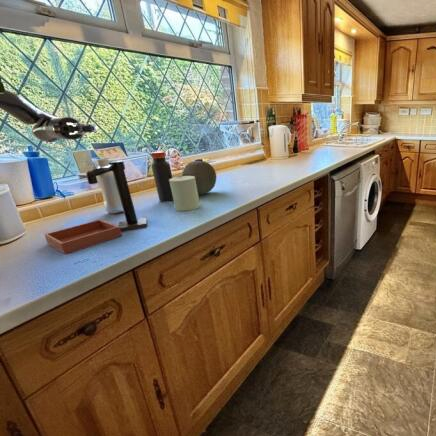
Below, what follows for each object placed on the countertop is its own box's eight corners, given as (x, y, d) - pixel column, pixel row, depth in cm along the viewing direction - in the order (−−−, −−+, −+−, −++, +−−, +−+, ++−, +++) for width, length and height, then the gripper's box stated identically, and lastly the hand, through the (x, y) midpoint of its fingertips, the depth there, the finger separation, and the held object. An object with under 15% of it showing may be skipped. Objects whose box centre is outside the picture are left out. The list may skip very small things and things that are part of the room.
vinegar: (157, 199, 130) (146, 152, 123) (174, 196, 134) (164, 150, 127) (161, 202, 125) (150, 153, 118) (178, 199, 129) (168, 152, 123)
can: (196, 202, 124) (190, 173, 120) (203, 207, 117) (198, 176, 113) (172, 207, 118) (165, 177, 114) (178, 212, 112) (172, 180, 108)
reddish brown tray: (64, 254, 81) (61, 243, 80) (47, 244, 88) (44, 234, 87) (122, 235, 92) (119, 226, 91) (103, 228, 99) (100, 219, 98)
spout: (115, 172, 95) (112, 160, 94) (128, 171, 96) (125, 160, 94) (83, 184, 80) (79, 170, 79) (98, 183, 80) (94, 169, 79)
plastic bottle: (107, 211, 116) (92, 159, 109) (128, 208, 118) (114, 157, 112) (104, 216, 110) (88, 161, 103) (126, 213, 113) (111, 159, 106)
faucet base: (118, 232, 95) (101, 173, 89) (119, 225, 101) (104, 170, 94) (147, 226, 99) (132, 170, 92) (147, 220, 104) (133, 167, 98)
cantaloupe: (181, 194, 136) (174, 161, 131) (212, 189, 145) (206, 157, 140) (192, 201, 126) (185, 165, 121) (224, 194, 135) (219, 160, 130)
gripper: (38, 117, 100) (59, 116, 92) (85, 117, 111) (107, 116, 102) (45, 140, 103) (66, 142, 94) (90, 138, 113) (112, 139, 105)
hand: (87, 128), depth 98 cm, fingers closed
